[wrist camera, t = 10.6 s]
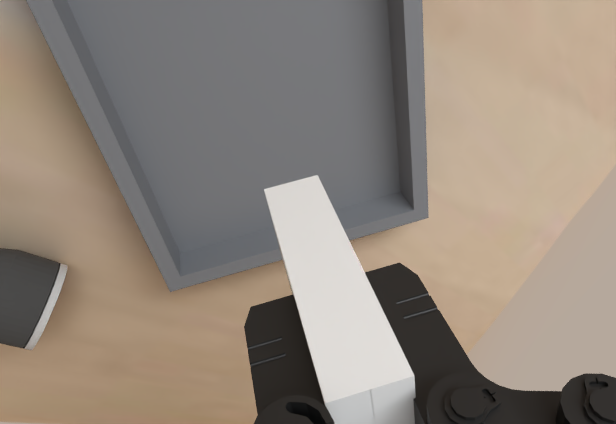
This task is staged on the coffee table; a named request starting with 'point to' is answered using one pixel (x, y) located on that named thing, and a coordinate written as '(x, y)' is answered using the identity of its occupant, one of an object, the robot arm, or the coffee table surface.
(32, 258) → the flashlight
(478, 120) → the coffee table surface
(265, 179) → the box
